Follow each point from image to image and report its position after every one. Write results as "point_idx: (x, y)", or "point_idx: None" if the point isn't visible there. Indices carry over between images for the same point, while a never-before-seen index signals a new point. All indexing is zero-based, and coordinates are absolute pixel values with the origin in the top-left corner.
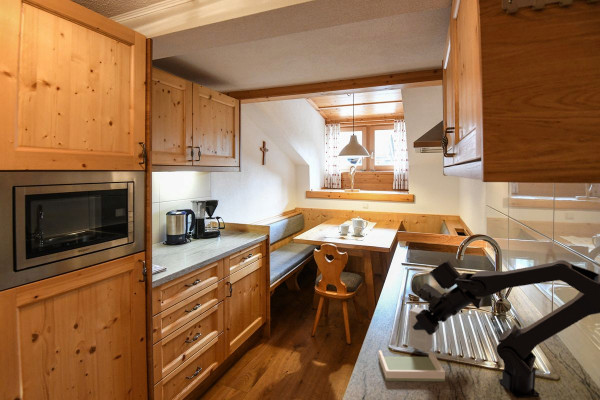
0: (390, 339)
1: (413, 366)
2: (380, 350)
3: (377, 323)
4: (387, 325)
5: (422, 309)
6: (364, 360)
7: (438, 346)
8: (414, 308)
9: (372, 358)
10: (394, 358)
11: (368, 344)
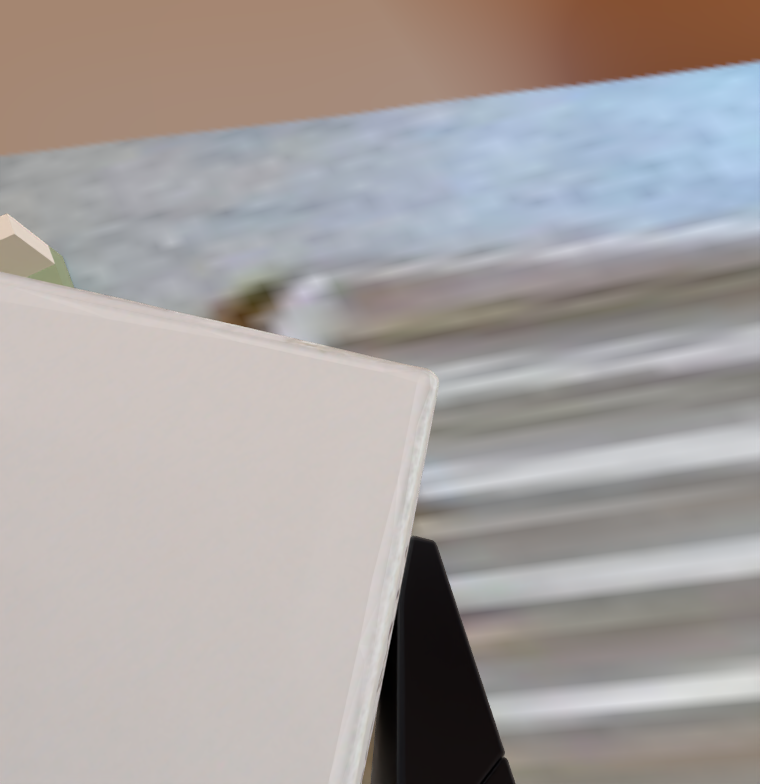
0: (420, 266)
1: None
2: (12, 227)
3: (661, 91)
4: (678, 179)
5: (234, 772)
6: (9, 171)
7: (529, 750)
8: (204, 404)
9: (56, 214)
10: None
11: (248, 130)
